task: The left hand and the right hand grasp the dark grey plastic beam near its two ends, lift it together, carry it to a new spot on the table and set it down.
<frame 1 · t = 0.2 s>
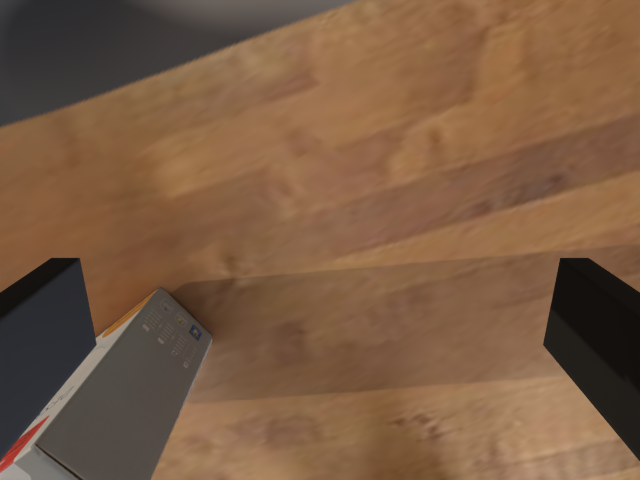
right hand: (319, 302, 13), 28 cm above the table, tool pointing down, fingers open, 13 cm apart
hard drive box: (135, 351, 46), on the table
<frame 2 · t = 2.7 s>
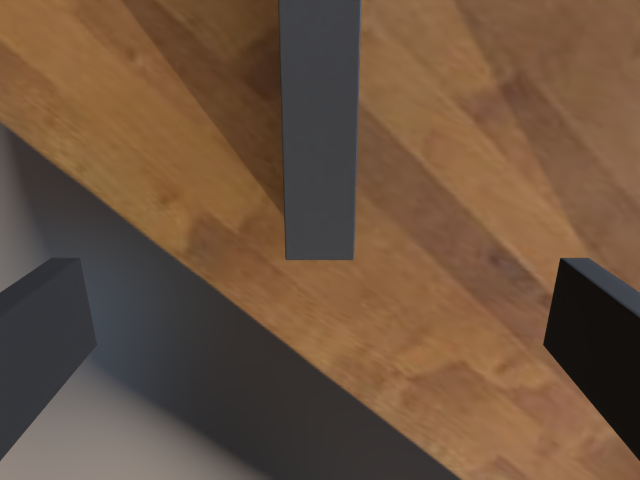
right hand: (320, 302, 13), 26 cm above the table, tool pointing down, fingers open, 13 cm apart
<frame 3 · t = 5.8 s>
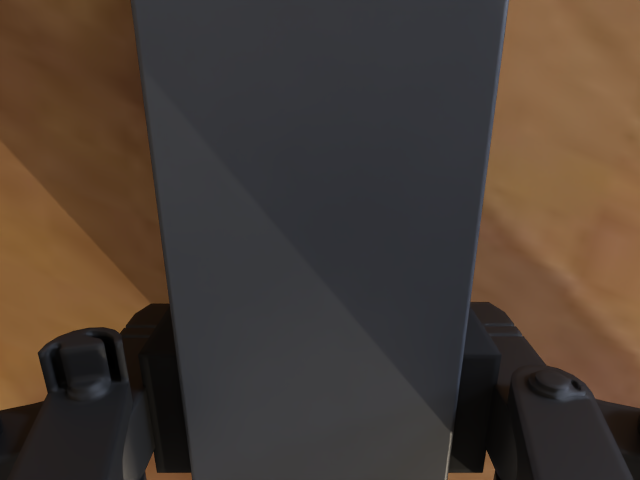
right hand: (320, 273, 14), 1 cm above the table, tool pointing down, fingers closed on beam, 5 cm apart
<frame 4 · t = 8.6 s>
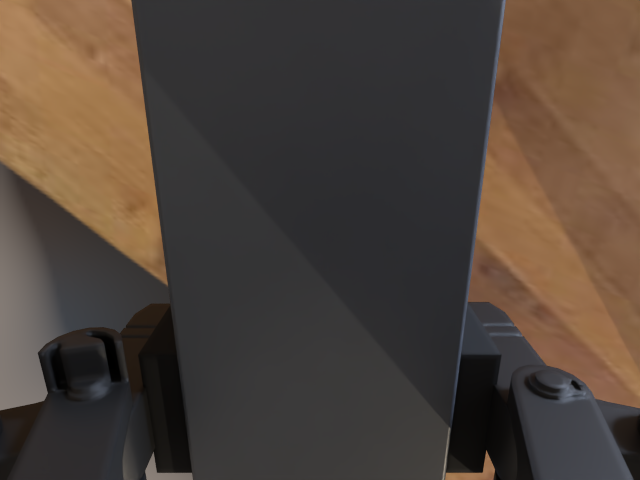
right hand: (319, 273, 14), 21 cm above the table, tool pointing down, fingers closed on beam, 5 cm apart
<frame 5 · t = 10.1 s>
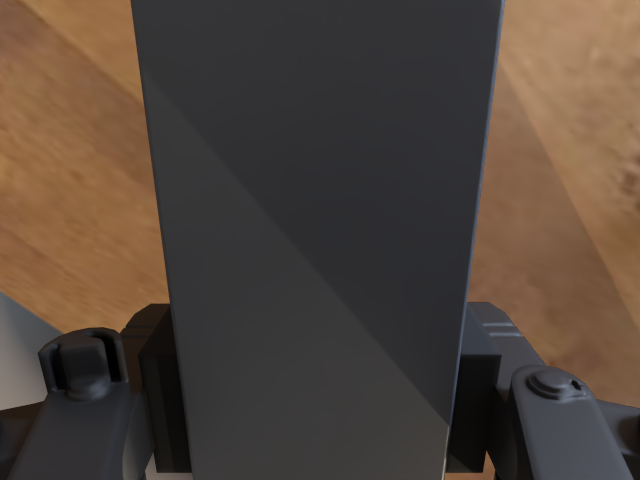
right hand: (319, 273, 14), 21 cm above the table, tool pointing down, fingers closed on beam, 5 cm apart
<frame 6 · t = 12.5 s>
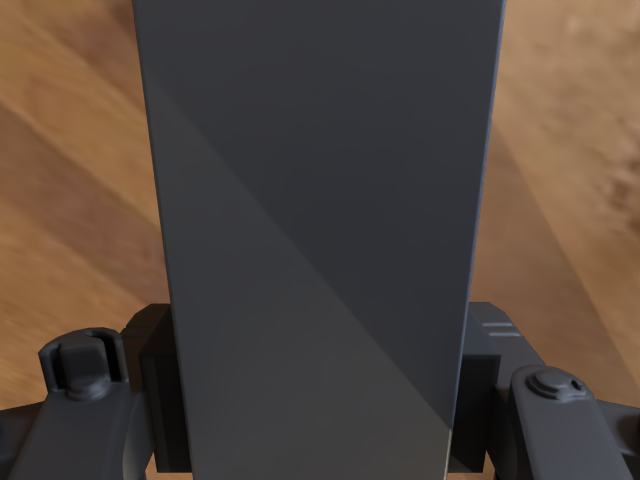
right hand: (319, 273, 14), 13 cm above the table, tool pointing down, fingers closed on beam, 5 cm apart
when the right hand's fingers open (2 cm above the table, at t = 14.5 s): beam stays where it is, on the table.
when the left hand's fingers open (4 cm above the table, at t = 14.7 s): beam stays where it is, on the table.
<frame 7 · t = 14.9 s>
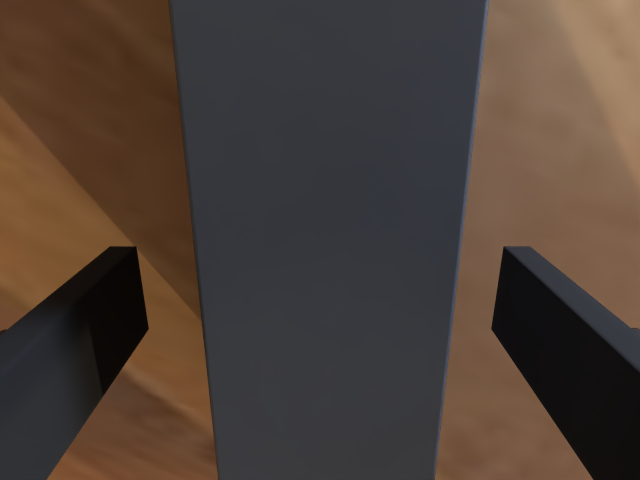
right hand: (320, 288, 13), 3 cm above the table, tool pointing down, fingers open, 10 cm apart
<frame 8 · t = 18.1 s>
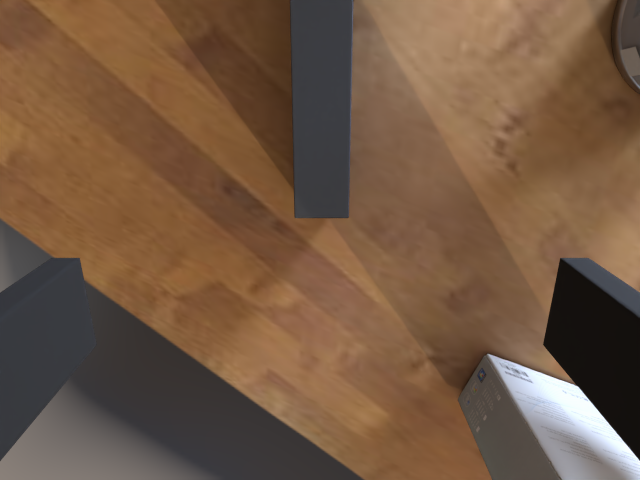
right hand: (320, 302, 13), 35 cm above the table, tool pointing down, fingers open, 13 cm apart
hard drive box: (524, 394, 56), on the table
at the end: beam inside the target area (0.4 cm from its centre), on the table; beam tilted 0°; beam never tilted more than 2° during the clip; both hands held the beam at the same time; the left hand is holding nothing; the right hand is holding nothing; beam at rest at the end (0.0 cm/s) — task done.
